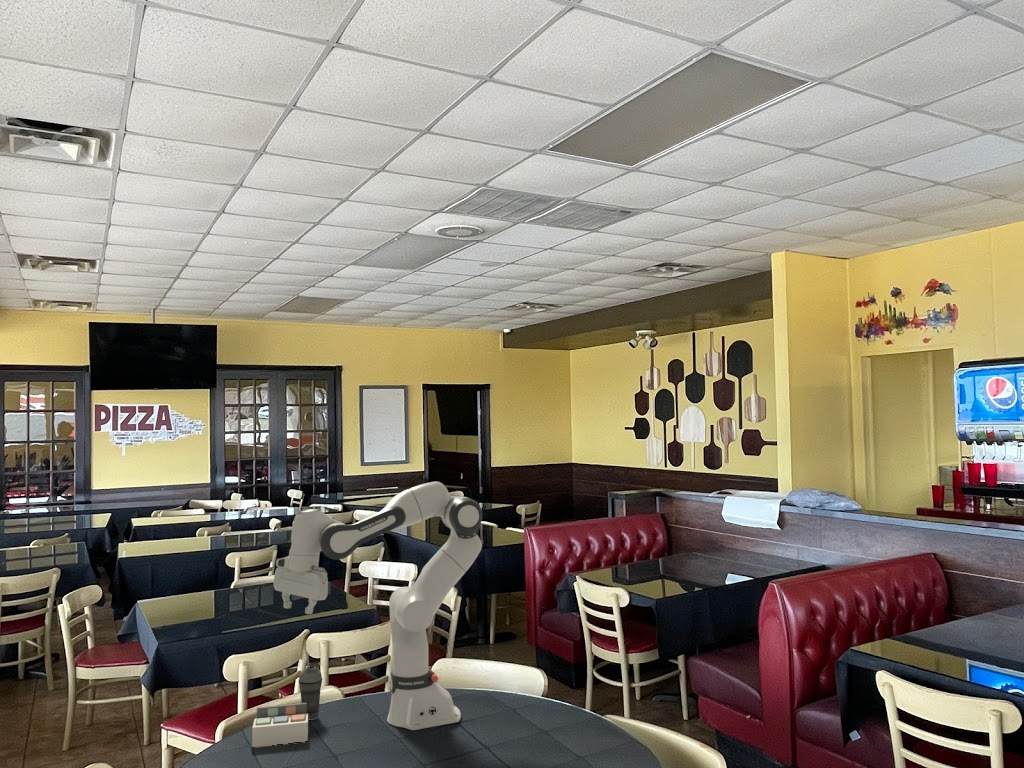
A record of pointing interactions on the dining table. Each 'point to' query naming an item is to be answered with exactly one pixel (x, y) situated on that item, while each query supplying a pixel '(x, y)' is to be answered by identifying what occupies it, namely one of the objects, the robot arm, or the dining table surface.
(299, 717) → the key terracotta
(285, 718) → the key slate
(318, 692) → the beverage cup
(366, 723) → the dining table surface
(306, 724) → the keypad console
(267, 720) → the key sage
